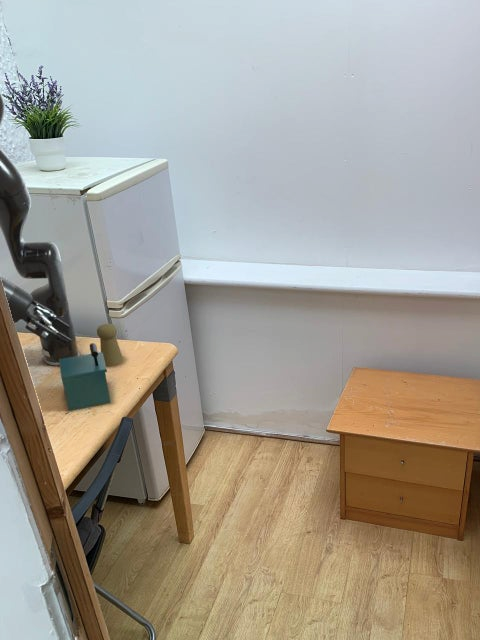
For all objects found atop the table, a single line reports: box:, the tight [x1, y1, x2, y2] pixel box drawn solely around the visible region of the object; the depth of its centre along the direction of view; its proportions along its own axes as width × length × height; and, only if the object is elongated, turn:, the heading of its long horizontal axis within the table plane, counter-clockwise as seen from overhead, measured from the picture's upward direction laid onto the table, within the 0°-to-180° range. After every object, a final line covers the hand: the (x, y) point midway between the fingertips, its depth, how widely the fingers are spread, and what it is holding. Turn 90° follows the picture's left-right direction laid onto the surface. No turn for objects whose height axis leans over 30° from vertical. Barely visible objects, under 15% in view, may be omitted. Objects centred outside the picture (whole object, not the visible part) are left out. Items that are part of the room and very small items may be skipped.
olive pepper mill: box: [96, 323, 124, 367], centre depth 169 cm, size 6×6×11 cm
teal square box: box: [61, 372, 112, 412], centre depth 153 cm, size 10×10×9 cm
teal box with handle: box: [59, 342, 108, 381], centre depth 149 cm, size 10×10×5 cm
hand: (68, 336), depth 146 cm, fingers open, 8 cm apart
